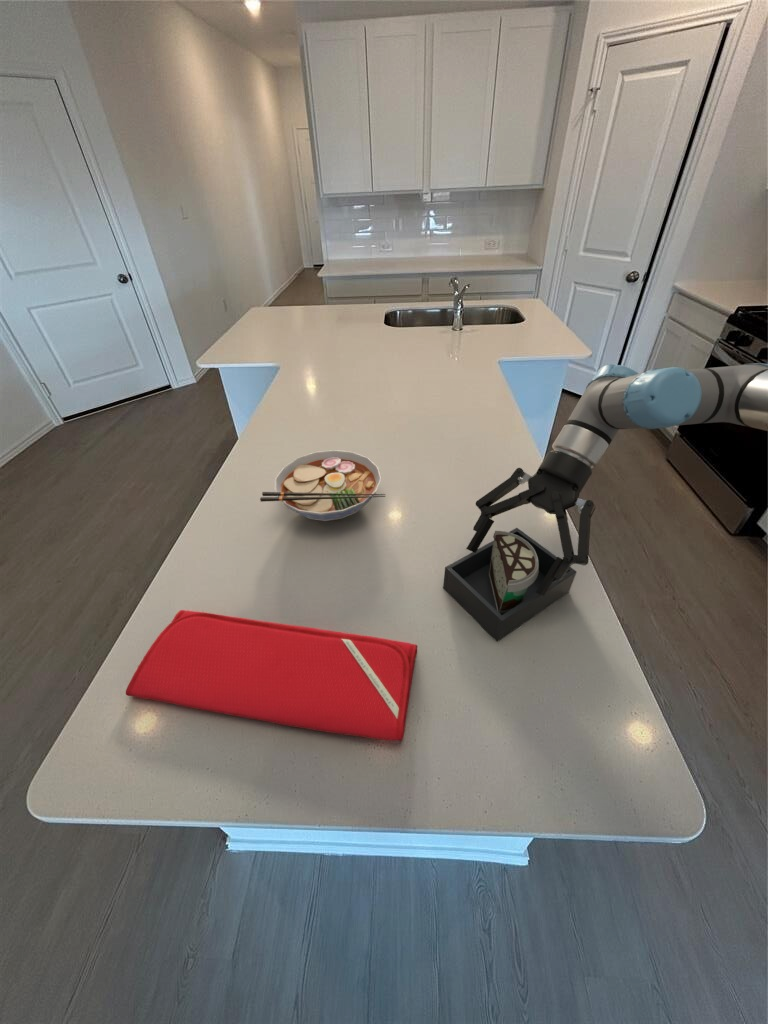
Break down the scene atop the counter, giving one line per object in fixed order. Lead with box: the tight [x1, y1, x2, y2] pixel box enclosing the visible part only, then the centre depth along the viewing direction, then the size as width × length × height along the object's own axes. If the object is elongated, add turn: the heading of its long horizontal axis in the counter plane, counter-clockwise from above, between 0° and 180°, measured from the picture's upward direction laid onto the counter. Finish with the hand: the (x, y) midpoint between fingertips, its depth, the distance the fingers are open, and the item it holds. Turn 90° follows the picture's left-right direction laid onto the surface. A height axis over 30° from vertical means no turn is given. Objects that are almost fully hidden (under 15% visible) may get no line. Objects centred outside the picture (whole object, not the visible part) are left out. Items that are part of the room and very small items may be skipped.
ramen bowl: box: [259, 449, 386, 522], centre depth 96 cm, size 25×23×8 cm
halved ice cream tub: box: [489, 530, 539, 615], centre depth 74 cm, size 12×6×10 cm, turn 179°
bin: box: [442, 527, 577, 642], centre depth 77 cm, size 14×18×6 cm
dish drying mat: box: [125, 609, 418, 742], centre depth 66 cm, size 16×41×4 cm, turn 79°
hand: (503, 571), depth 73 cm, fingers open, 13 cm apart
